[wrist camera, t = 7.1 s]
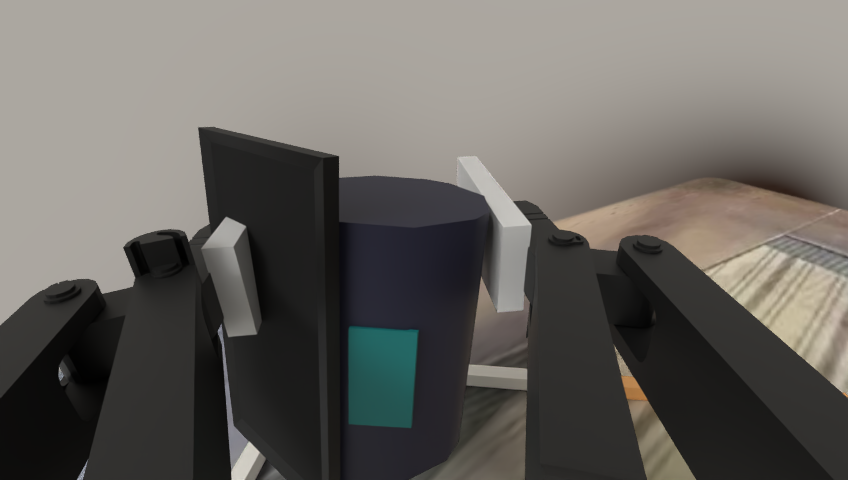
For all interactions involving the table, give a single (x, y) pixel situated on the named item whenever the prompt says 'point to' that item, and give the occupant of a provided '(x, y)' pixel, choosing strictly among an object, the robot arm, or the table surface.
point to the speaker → (348, 309)
